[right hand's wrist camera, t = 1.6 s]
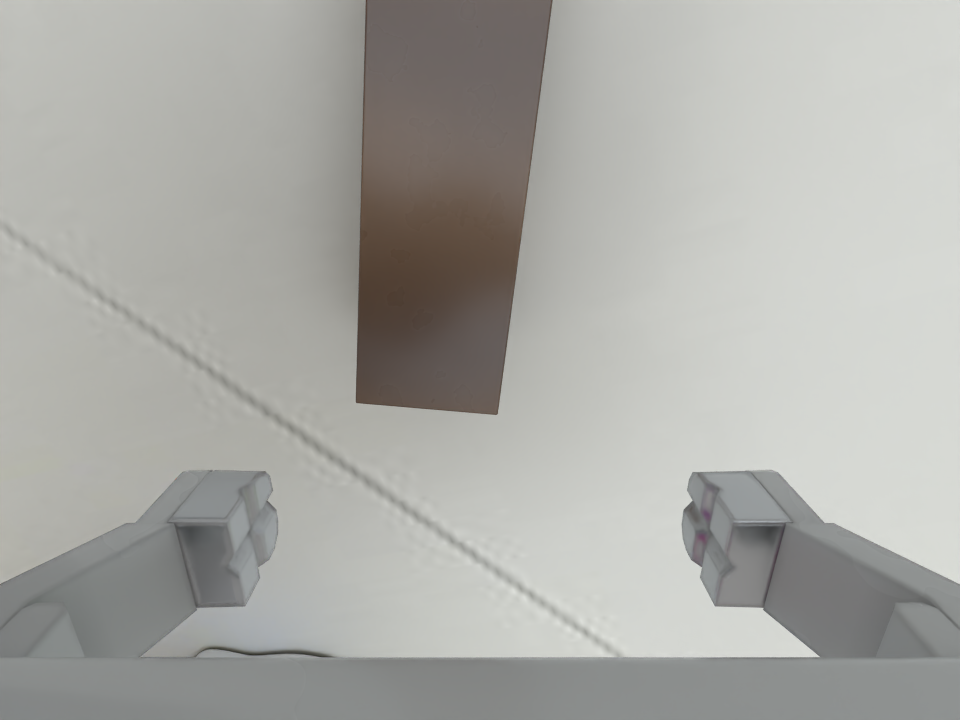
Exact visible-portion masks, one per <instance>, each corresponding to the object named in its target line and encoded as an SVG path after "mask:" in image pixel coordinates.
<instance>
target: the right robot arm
mask: <svg viewBox="0 0 960 720" xmlns="http://www.w3.org/2000/svg"><path fill="white" fill-rule="evenodd" d="M272 491H273V488H272V484H271V479H270V476H269V475H268V474H267V473H266V472H265V471H221V470H215V471H212V470H189V471H185V472H182V473H181V474H180V475H179V476H178V477H177V478H176V480H175V481H174V482H173V483H172V484H171V485H170V486H169V487H168V488H167V489H166V490H165V491H164V493H163V494H162V495H161V496H160V497H159V498H158V499H157V500H156V501H155V502H154V503H153V504H152V506H151V507H150V508H149V509H148V510H147V511H146V512H145V513H144V514H143V515H142V516H141V517H140V519H139V520H138V521H137V522H136V523H126V524H124V525H122V526H120V527H118V528H116V529H114V530H112V531H110V532H107V533H105V534H103V535H101V536H99V537H97V538H95V539H93V540H91V541H89V542H87V543H85V544H83V545H81V546H78V547H76V548H74V549H72V550H70V551H68V552H66V553H64V554H62V555H60V556H58V557H56V558H54V559H52V560H49V561H47V562H45V563H43V564H41V565H39V566H37V567H35V568H33V569H31V570H29V571H27V572H25V573H23V574H21V575H18V576H16V577H14V578H12V579H10V580H8V581H6V582H4V583H2V584H0V720H960V584H958V583H956V582H954V581H952V580H950V579H947V578H945V577H943V576H941V575H939V574H937V573H935V572H933V571H931V570H929V569H927V568H925V567H923V566H921V565H919V564H916V563H914V562H912V561H910V560H908V559H906V558H904V557H902V556H900V555H898V554H896V553H894V552H892V551H890V550H888V549H886V548H883V547H881V546H879V545H877V544H875V543H873V542H871V541H869V540H867V539H865V538H863V537H861V536H859V535H857V534H855V533H853V532H850V531H848V530H846V529H844V528H842V527H840V526H838V525H836V524H834V523H824V522H823V521H822V520H821V519H820V517H819V516H818V515H817V514H816V513H815V512H814V511H813V510H812V509H811V508H810V507H809V506H808V504H807V503H806V502H805V501H804V500H803V499H802V498H801V497H800V496H799V495H798V494H797V493H796V491H795V490H794V489H793V488H792V487H791V486H790V485H789V484H788V483H787V482H786V481H785V479H784V478H783V477H782V476H781V475H780V474H779V473H778V472H775V471H773V470H753V471H728V472H693V473H692V475H691V477H690V479H689V483H688V488H687V491H688V493H689V495H690V496H691V498H692V500H693V501H692V502H691V503H690V504H689V505H688V506H687V507H686V508H685V509H684V511H683V519H682V534H683V541H684V544H685V548H686V550H687V553H688V555H689V557H690V559H691V560H692V561H694V562H695V563H697V564H698V565H699V566H701V567H702V570H701V576H700V578H701V580H702V582H703V584H704V586H705V588H706V590H707V592H708V594H709V596H710V598H711V600H712V602H713V603H714V605H715V606H724V607H760V608H764V609H763V610H764V611H765V612H767V613H768V614H769V615H770V616H771V617H773V618H774V619H775V620H776V621H777V622H779V623H780V624H781V625H782V626H783V627H785V628H786V629H787V630H788V631H790V632H791V633H792V634H793V635H794V636H796V637H797V638H798V639H799V640H800V641H802V642H803V643H804V644H805V645H807V646H808V647H809V648H810V649H811V650H813V651H814V652H815V653H816V654H817V655H819V656H820V657H473V658H338V657H317V656H311V655H303V654H272V655H258V656H252V655H244V654H240V653H235V652H230V651H225V650H217V649H209V650H204V651H202V652H200V653H199V654H198V655H197V656H196V657H140V656H141V655H143V654H144V653H145V652H146V651H148V650H149V649H150V648H151V647H152V646H154V645H155V644H156V643H157V642H158V641H160V640H161V639H162V638H163V637H165V636H166V635H167V634H168V633H169V632H171V631H172V630H173V629H174V628H176V627H177V626H178V625H179V624H180V623H182V622H183V621H184V620H185V619H186V618H188V617H189V616H190V615H191V614H193V613H194V612H195V611H196V610H197V609H196V608H200V607H235V606H245V605H246V604H247V602H248V600H249V598H250V596H251V594H252V592H253V590H254V588H255V586H256V584H257V582H258V580H259V578H260V576H259V570H258V567H259V566H261V565H262V564H263V563H265V562H266V561H268V560H269V559H270V557H271V555H272V552H273V550H274V548H275V544H276V539H277V535H278V517H277V511H276V509H275V508H274V507H273V506H272V505H271V504H270V503H269V502H268V501H267V500H268V498H269V496H270V495H271V493H272Z"/></svg>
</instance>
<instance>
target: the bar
mask: <svg viewBox="0 0 960 720" xmlns="http://www.w3.org/2000/svg"><path fill="white" fill-rule="evenodd" d="M552 1H553V0H366V16H365V56H364V96H363V136H362V176H361V216H360V256H359V295H358V335H357V375H356V403H363V404H375V405H387V406H399V407H410V408H422V409H434V410H446V411H458V412H469V413H481V414H493V415H497V414H498V408H499V400H500V393H501V385H502V378H503V370H504V363H505V355H506V347H507V340H508V332H509V325H510V317H511V310H512V302H513V295H514V287H515V280H516V272H517V264H518V257H519V249H520V242H521V234H522V227H523V219H524V212H525V204H526V197H527V189H528V182H529V174H530V166H531V159H532V151H533V144H534V136H535V129H536V121H537V114H538V106H539V99H540V91H541V83H542V76H543V68H544V61H545V53H546V46H547V38H548V31H549V23H550V16H551V8H552Z"/></svg>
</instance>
